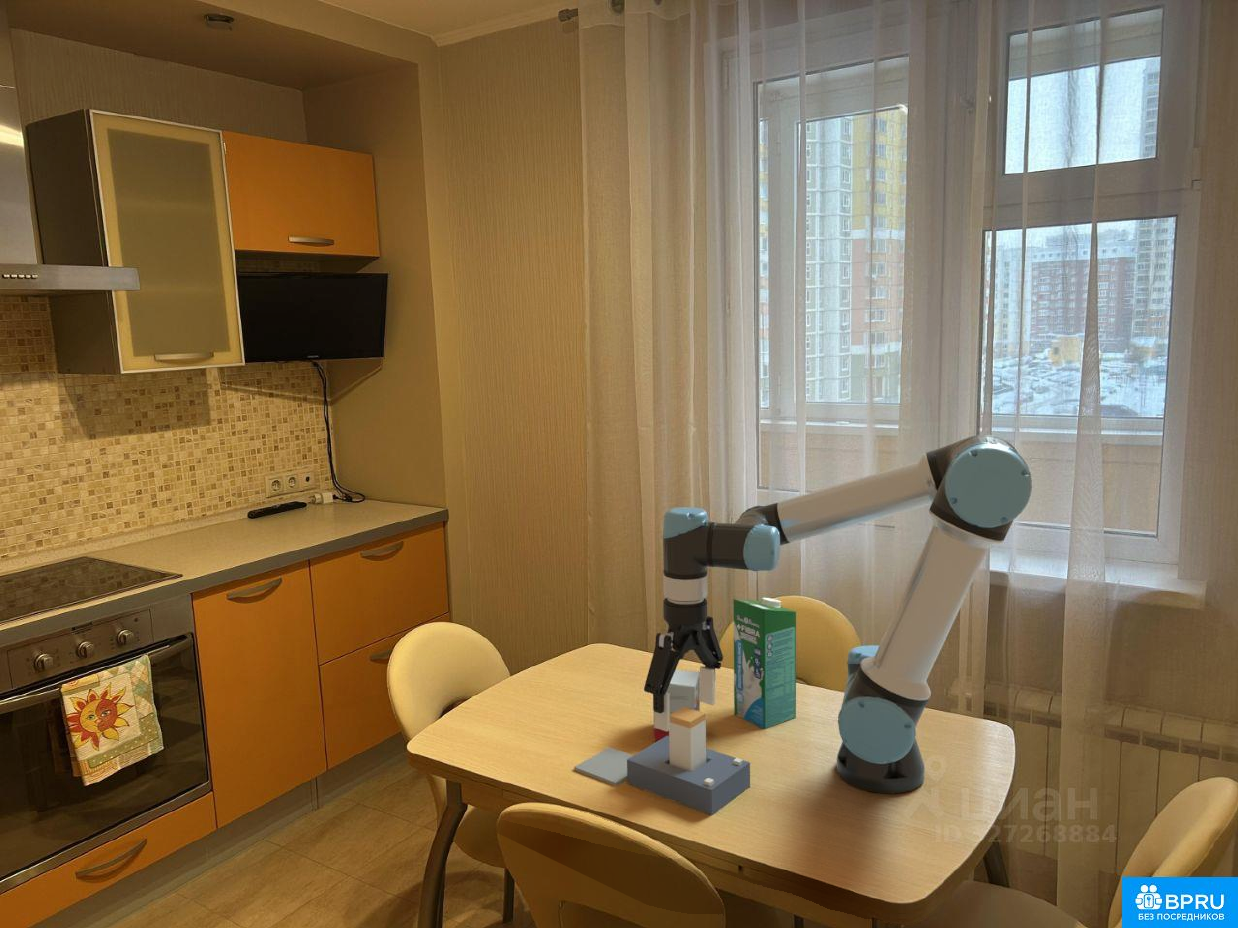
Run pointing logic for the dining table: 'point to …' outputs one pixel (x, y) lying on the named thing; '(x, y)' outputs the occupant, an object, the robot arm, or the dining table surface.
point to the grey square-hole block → (689, 777)
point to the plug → (687, 739)
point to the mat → (606, 766)
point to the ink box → (682, 695)
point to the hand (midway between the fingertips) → (685, 715)
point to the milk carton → (764, 662)
